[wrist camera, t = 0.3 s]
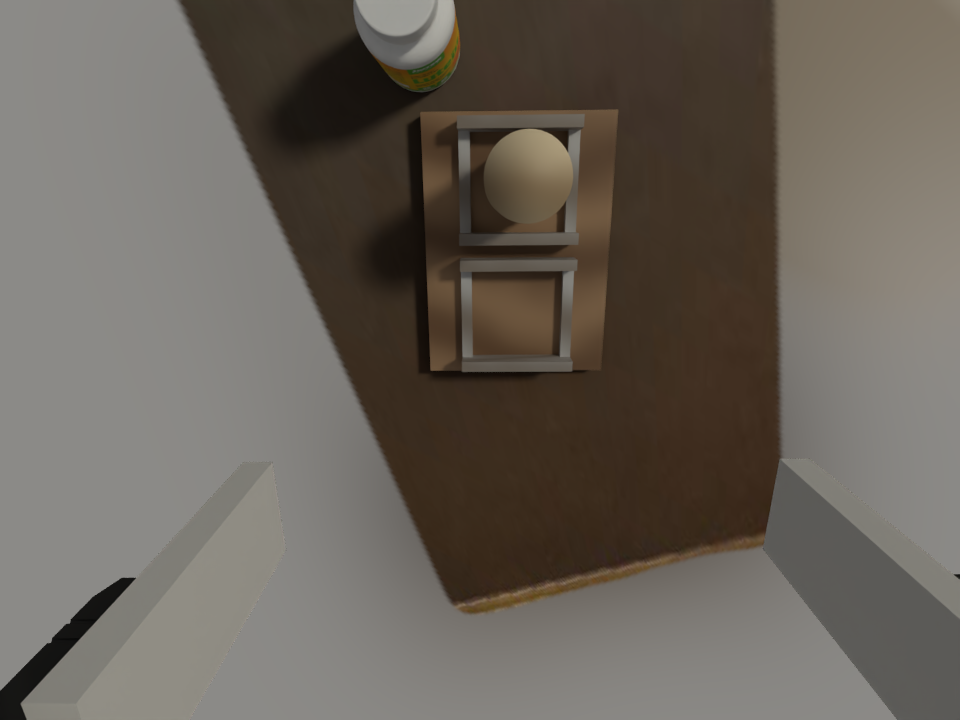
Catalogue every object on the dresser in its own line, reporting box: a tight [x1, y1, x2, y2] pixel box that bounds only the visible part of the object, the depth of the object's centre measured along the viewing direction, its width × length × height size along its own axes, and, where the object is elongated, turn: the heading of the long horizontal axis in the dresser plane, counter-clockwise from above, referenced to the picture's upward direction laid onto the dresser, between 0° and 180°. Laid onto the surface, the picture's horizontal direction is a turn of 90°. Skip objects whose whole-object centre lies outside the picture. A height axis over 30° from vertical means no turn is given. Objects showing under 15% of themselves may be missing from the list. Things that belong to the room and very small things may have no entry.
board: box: [420, 110, 618, 372], centre depth 36 cm, size 18×13×3 cm
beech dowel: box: [484, 129, 573, 224], centre depth 30 cm, size 5×5×9 cm
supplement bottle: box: [354, 0, 460, 92], centre depth 29 cm, size 5×5×10 cm
